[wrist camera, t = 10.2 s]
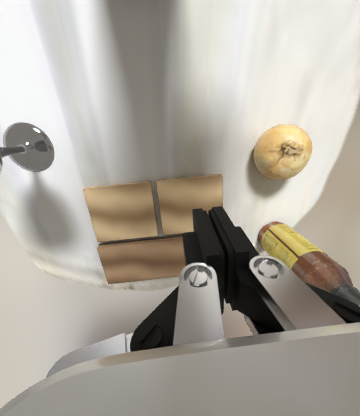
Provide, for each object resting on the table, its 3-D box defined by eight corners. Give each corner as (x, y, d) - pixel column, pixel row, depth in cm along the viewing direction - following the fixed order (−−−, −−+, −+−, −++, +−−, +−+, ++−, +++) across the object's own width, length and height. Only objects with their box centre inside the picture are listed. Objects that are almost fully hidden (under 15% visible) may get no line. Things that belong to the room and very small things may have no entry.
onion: (303, 129, 30) (341, 130, 23) (284, 178, 33) (313, 190, 26) (256, 120, 29) (282, 118, 22) (241, 171, 32) (260, 182, 25)
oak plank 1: (86, 187, 32) (82, 189, 30) (150, 180, 32) (150, 182, 31) (100, 238, 35) (97, 242, 34) (158, 232, 35) (157, 235, 34)
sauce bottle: (267, 251, 39) (355, 361, 21) (250, 233, 37) (331, 337, 19) (294, 232, 37) (415, 332, 19) (278, 212, 35) (397, 302, 17)
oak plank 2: (156, 180, 32) (156, 181, 31) (220, 173, 32) (222, 175, 31) (163, 231, 35) (163, 235, 34) (220, 225, 36) (222, 228, 34)
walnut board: (99, 243, 36) (96, 248, 34) (223, 230, 36) (225, 234, 35) (110, 278, 39) (108, 283, 38) (223, 266, 40) (224, 271, 38)
